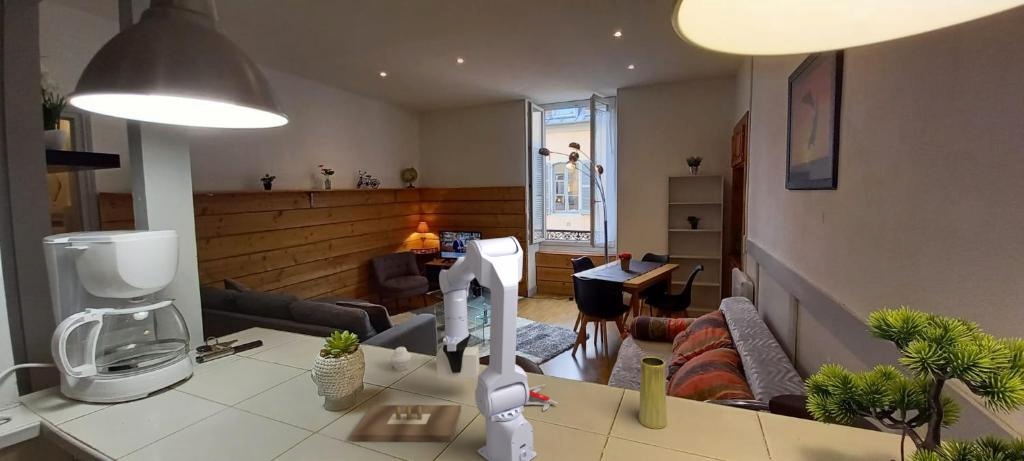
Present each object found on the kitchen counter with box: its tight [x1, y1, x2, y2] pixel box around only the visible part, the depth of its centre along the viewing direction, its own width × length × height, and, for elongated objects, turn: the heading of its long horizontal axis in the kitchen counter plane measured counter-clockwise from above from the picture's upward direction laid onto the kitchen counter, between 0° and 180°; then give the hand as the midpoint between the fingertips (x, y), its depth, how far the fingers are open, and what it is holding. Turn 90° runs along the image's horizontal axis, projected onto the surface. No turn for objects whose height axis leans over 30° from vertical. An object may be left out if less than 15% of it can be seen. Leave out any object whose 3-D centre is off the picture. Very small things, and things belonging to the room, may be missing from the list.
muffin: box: [390, 346, 412, 372], centre depth 121 cm, size 6×6×7 cm
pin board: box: [350, 404, 462, 443], centre depth 91 cm, size 22×12×4 cm, turn 87°
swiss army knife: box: [525, 383, 558, 412], centre depth 100 cm, size 12×14×2 cm
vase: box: [638, 356, 668, 430], centre depth 89 cm, size 6×6×14 cm
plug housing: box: [435, 346, 480, 379], centre depth 102 cm, size 10×5×6 cm, turn 87°
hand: (458, 367), depth 102 cm, fingers closed on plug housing, 5 cm apart
